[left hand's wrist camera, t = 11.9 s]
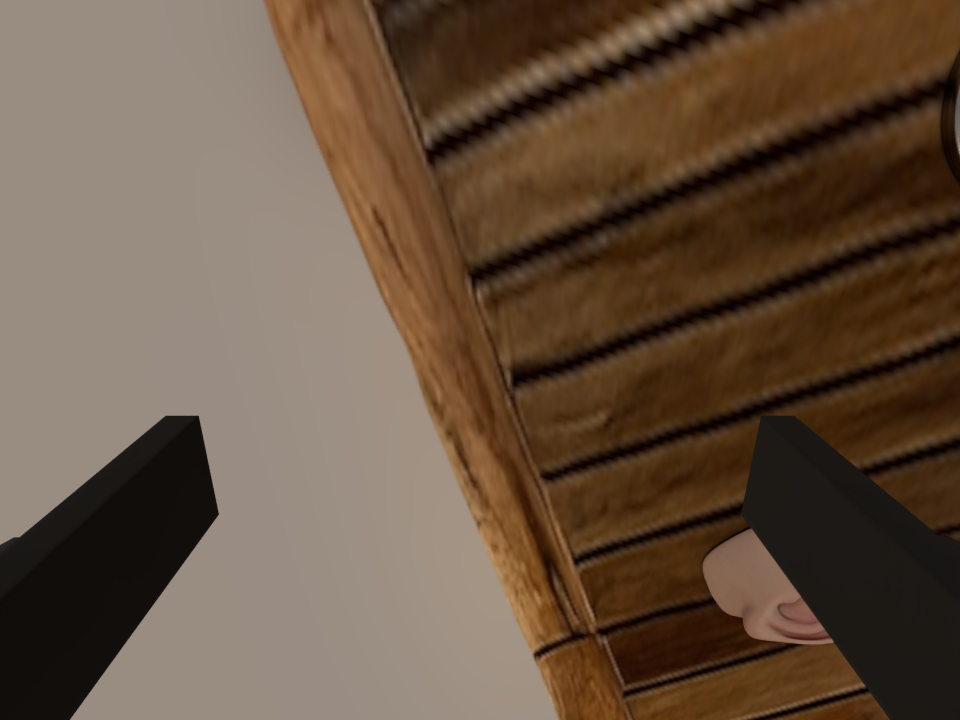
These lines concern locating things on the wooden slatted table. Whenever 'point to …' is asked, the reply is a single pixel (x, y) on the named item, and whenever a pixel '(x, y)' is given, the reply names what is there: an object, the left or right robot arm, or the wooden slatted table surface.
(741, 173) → the wooden slatted table surface
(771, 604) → the anatomical model
